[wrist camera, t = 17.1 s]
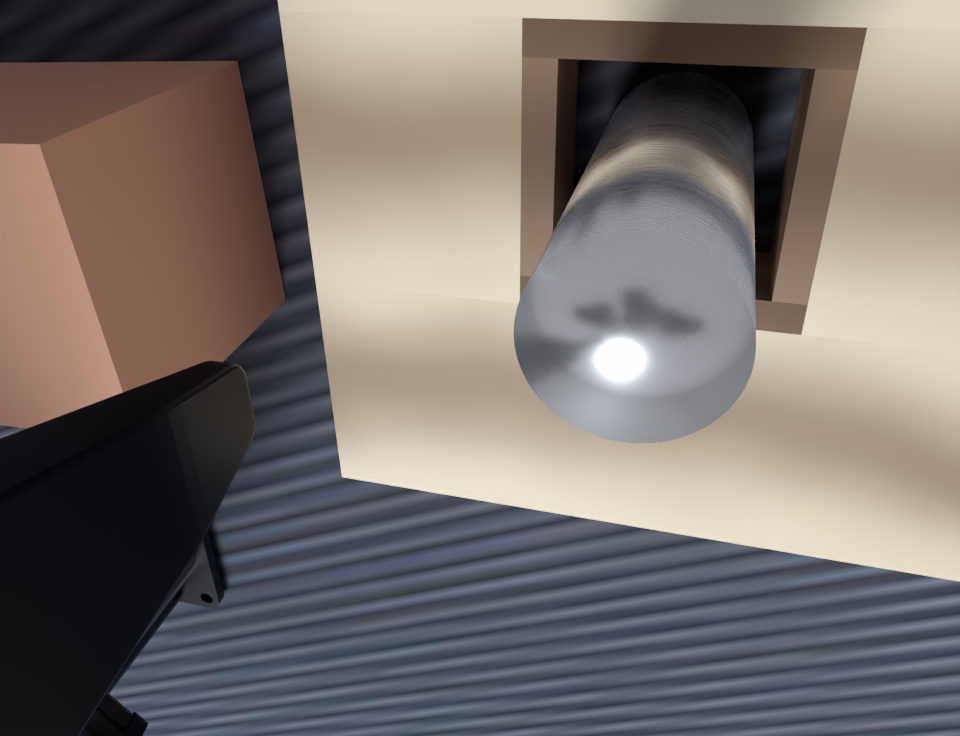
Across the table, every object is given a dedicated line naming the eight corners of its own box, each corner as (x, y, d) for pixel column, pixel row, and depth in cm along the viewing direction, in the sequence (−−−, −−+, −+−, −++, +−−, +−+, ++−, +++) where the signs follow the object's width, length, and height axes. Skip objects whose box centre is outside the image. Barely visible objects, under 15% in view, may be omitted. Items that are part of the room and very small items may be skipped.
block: (287, 298, 24) (139, 443, 18) (27, 279, 26) (-177, 402, 20) (239, 59, 20) (39, 144, 15) (-54, 62, 23) (-326, 135, 17)
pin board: (958, 514, 21) (980, 584, 19) (375, 425, 25) (341, 477, 23) (1321, -443, 12) (1439, -503, 10) (293, -356, 16) (225, -386, 14)
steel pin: (741, 220, 19) (736, 459, 12) (601, 209, 20) (513, 425, 12) (764, 75, 17) (775, 246, 10) (609, 68, 18) (513, 223, 11)
